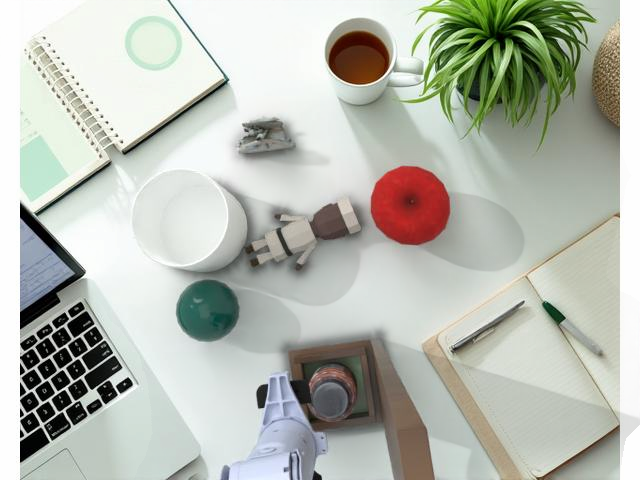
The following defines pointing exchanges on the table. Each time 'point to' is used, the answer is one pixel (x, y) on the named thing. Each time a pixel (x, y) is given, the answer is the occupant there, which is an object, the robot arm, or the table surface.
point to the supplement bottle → (333, 392)
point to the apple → (410, 205)
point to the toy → (306, 233)
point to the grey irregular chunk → (264, 136)
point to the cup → (188, 221)
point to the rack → (373, 402)
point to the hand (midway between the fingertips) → (295, 426)
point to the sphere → (207, 310)
